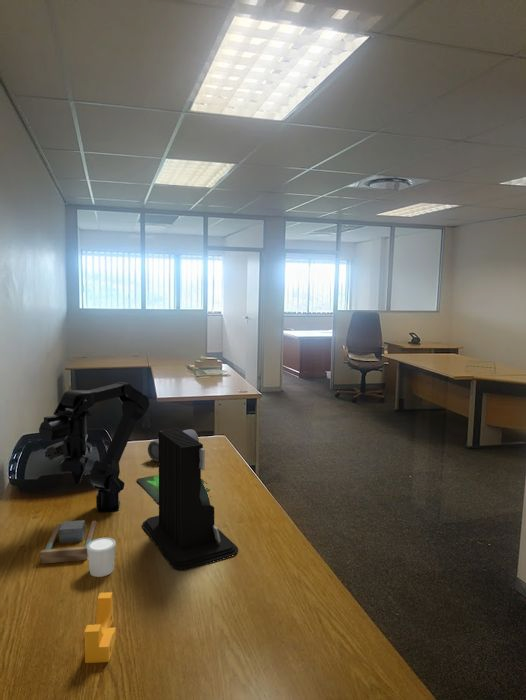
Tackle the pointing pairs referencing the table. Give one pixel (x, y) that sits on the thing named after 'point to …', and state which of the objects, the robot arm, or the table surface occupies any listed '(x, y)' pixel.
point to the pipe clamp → (100, 632)
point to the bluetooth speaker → (154, 445)
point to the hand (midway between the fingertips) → (77, 484)
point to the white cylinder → (101, 556)
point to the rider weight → (72, 531)
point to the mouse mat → (154, 486)
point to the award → (185, 506)
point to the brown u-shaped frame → (65, 553)
